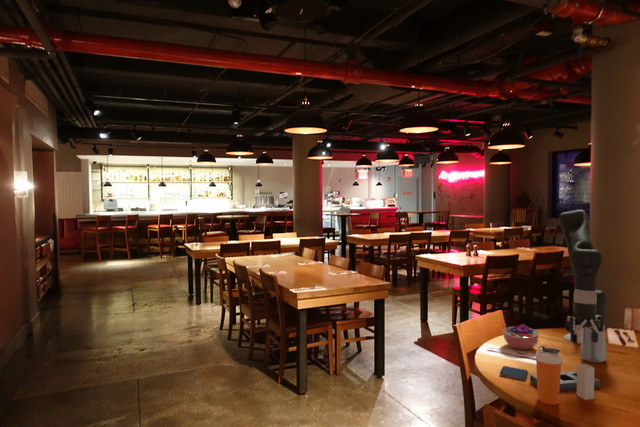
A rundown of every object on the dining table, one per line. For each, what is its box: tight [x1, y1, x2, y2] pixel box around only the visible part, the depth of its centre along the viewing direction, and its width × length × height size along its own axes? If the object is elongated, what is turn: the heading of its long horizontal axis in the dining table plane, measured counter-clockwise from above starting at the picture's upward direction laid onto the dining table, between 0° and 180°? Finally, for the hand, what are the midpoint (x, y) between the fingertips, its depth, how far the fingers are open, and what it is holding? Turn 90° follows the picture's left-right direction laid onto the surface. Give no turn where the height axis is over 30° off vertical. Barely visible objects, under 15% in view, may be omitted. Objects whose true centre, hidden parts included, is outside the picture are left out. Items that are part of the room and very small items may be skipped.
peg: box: [576, 363, 595, 401], centre depth 166 cm, size 4×4×12 cm
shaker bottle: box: [535, 345, 563, 406], centre depth 163 cm, size 9×9×20 cm
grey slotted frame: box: [529, 370, 601, 392], centre depth 177 cm, size 24×10×3 cm, turn 100°
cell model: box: [502, 323, 539, 350], centre depth 221 cm, size 17×20×11 cm
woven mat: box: [499, 365, 529, 382], centre depth 188 cm, size 10×11×2 cm
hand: (584, 342), depth 167 cm, fingers open, 8 cm apart
